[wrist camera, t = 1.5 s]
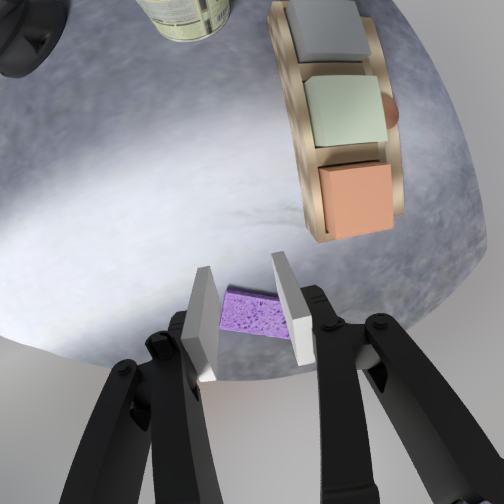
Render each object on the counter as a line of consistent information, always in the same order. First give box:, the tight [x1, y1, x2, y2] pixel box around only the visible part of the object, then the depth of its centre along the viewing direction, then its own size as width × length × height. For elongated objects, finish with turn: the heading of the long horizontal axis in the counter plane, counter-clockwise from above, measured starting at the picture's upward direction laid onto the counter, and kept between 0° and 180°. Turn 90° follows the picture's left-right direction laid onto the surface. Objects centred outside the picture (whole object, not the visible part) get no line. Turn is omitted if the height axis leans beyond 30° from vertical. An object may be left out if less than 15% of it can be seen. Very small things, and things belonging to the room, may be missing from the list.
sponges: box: [219, 289, 291, 339], centre depth 42 cm, size 7×13×2 cm, turn 77°
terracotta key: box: [318, 160, 393, 240], centre depth 29 cm, size 7×7×5 cm
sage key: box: [303, 75, 388, 146], centre depth 26 cm, size 7×7×5 cm
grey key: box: [284, 0, 372, 64], centre depth 22 cm, size 7×7×5 cm
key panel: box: [267, 1, 404, 243], centre depth 29 cm, size 30×15×6 cm, turn 11°
